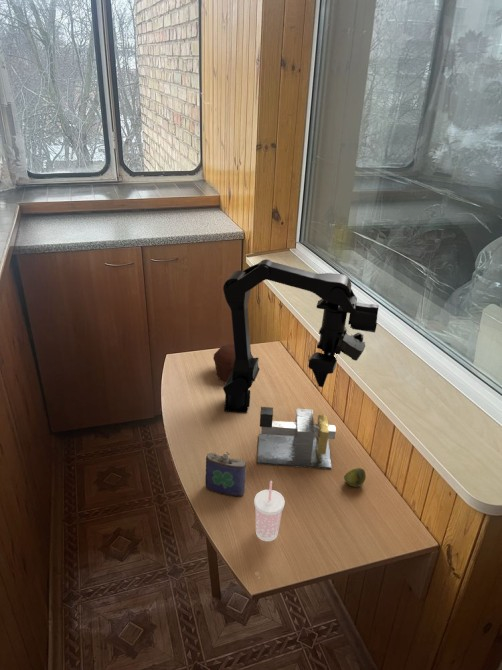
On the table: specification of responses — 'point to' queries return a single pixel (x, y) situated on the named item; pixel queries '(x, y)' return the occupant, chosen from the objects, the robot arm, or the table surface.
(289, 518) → the table surface
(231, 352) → the muffin
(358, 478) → the lime
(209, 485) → the flask
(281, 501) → the beverage cup
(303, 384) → the table surface
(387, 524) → the table surface
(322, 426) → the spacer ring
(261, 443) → the block
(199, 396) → the table surface
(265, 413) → the shaft
